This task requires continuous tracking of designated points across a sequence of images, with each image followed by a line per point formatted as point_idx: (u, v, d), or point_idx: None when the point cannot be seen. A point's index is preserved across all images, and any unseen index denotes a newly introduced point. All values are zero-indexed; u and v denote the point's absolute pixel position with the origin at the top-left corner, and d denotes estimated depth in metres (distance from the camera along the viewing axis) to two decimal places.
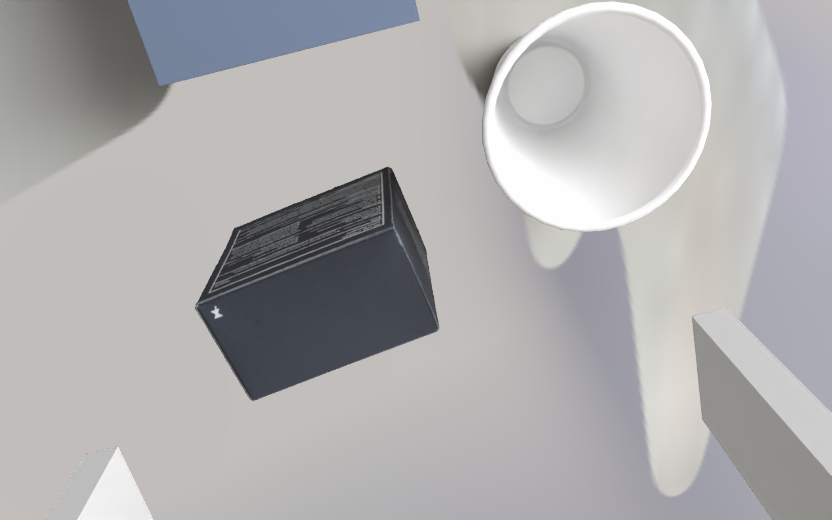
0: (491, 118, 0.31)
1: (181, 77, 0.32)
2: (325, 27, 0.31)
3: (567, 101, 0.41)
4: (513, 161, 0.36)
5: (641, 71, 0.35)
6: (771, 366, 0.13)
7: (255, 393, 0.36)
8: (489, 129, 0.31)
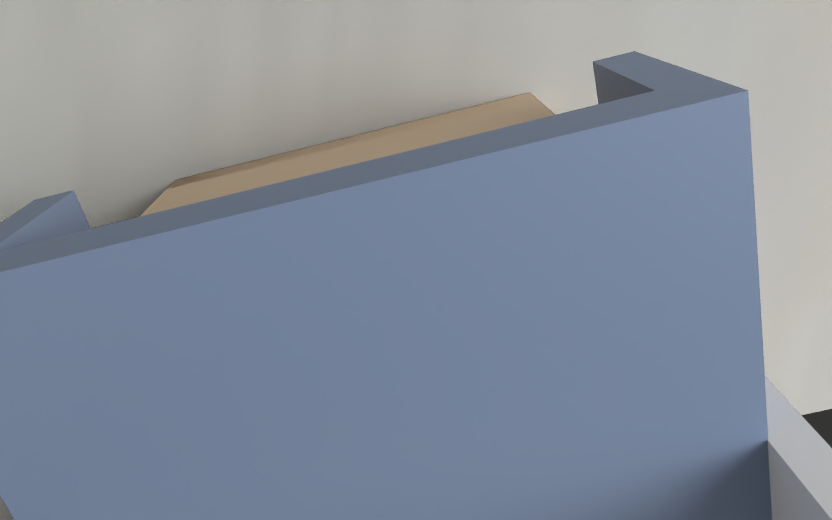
0: None
1: None
2: None
3: None
4: None
5: None
6: None
7: None
8: None
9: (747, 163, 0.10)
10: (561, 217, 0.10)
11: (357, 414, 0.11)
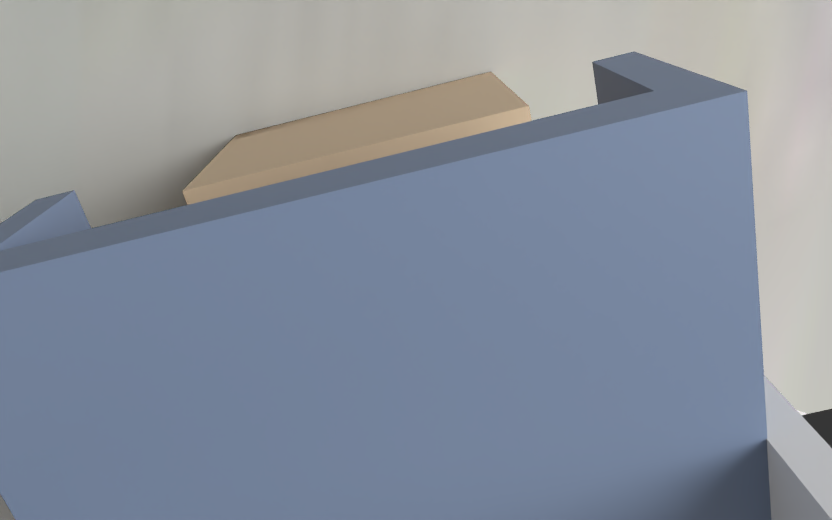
0: None
1: None
2: None
3: None
4: None
5: None
6: None
7: None
8: None
9: (746, 162, 0.10)
10: (560, 217, 0.10)
11: (357, 414, 0.11)
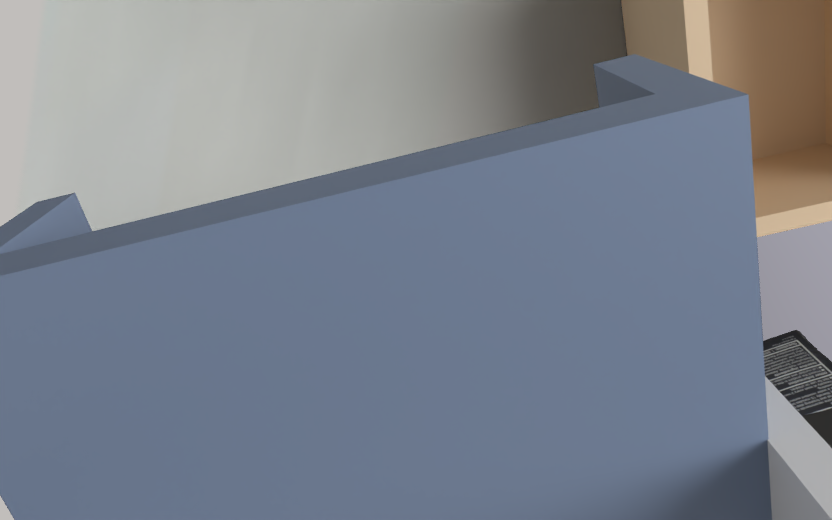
0: None
1: None
2: None
3: None
4: None
5: None
6: None
7: None
8: None
9: (747, 166, 0.10)
10: (562, 220, 0.10)
11: (358, 417, 0.11)
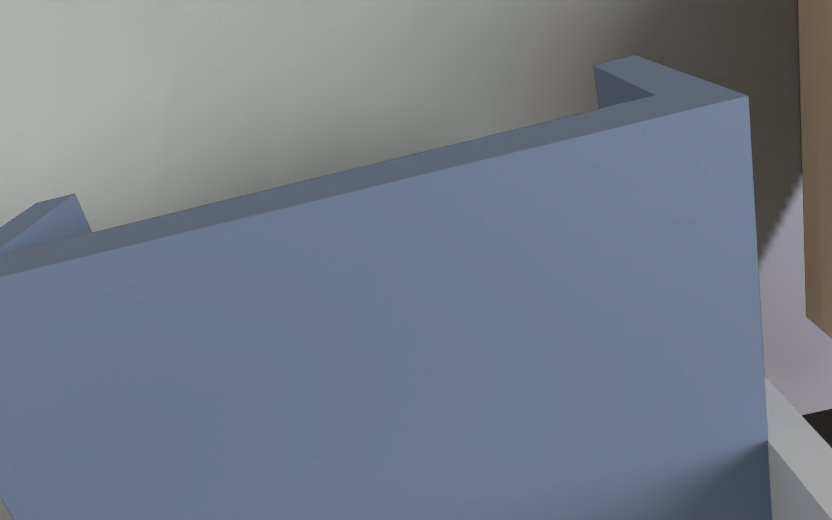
0: None
1: None
2: None
3: None
4: None
5: None
6: None
7: None
8: None
9: (748, 167, 0.10)
10: (562, 222, 0.10)
11: (358, 418, 0.11)
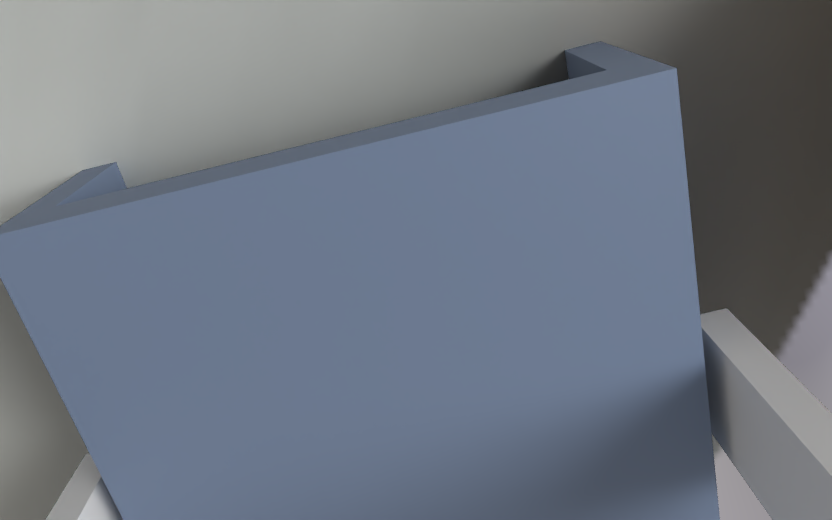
0: None
1: None
2: None
3: None
4: None
5: None
6: (771, 366, 0.13)
7: None
8: None
9: (679, 127, 0.12)
10: (529, 172, 0.12)
11: (363, 338, 0.13)
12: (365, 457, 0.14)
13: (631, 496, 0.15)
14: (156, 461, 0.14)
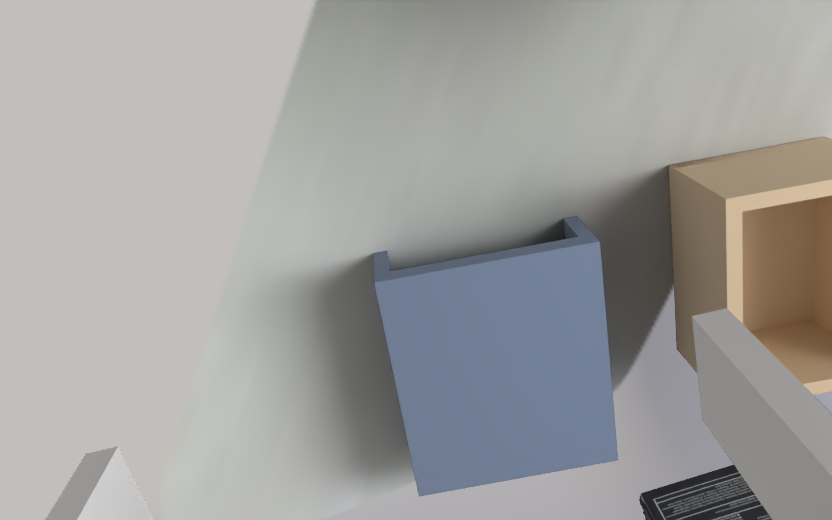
0: None
1: (436, 491, 0.43)
2: (549, 463, 0.42)
3: None
4: None
5: None
6: (771, 366, 0.13)
7: None
8: None
9: (600, 258, 0.38)
10: (552, 270, 0.38)
11: (492, 322, 0.39)
12: (486, 365, 0.40)
13: (580, 386, 0.41)
14: (412, 363, 0.39)
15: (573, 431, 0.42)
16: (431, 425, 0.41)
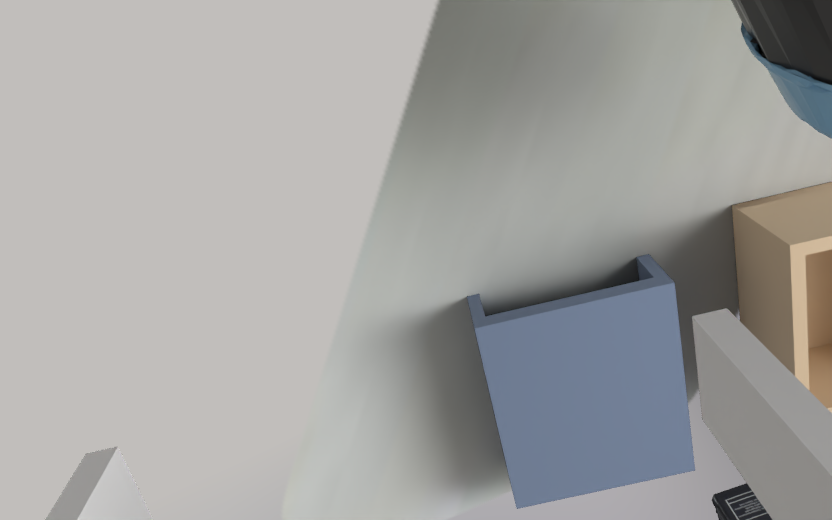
0: None
1: (532, 503, 0.48)
2: (632, 475, 0.47)
3: None
4: None
5: None
6: (771, 366, 0.13)
7: None
8: None
9: (675, 296, 0.43)
10: (632, 309, 0.43)
11: (579, 356, 0.44)
12: (575, 394, 0.45)
13: (659, 407, 0.45)
14: (509, 395, 0.45)
15: (654, 447, 0.46)
16: (527, 447, 0.46)
